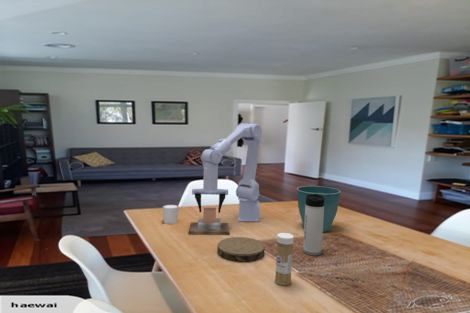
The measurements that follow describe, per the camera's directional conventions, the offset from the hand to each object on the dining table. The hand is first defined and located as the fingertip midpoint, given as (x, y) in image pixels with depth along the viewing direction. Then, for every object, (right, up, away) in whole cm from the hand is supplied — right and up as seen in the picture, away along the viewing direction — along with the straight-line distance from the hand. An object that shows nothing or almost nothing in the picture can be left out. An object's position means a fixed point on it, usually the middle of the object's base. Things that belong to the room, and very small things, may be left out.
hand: (209, 211), depth 133 cm
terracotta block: (0, -4, +1) cm, 4 cm away
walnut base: (0, -7, +1) cm, 8 cm away
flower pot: (+45, -9, +8) cm, 47 cm away
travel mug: (+37, -11, -20) cm, 43 cm away
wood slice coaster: (+12, -11, -22) cm, 28 cm away
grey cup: (-18, -6, +9) cm, 21 cm away
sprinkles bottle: (+24, -12, -43) cm, 50 cm away
